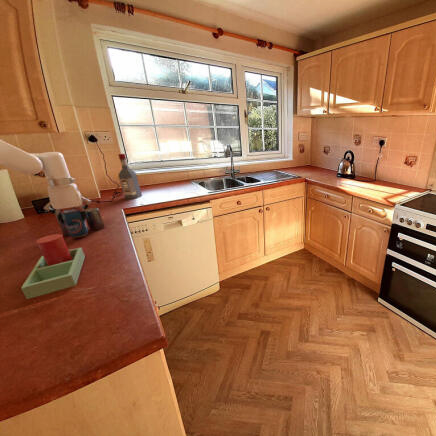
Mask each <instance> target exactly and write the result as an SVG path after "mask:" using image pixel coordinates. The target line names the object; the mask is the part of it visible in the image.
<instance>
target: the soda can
mask: <svg viewBox="0 0 436 436" xmlns="http://www.w3.org/2000/svg"><path fill="white" fill-rule="evenodd" d="M61 213H63V214H62V218H63V221H64V223H65V226H66V229H67V231H68V234H69V235H70V236H69V237H71V238H81V237H84V236H86V235H88V233H89V228H88V225H87V222H86V220H83V217H82V214H81V210H80V209H79V208H67V209H65V210H62V211H61Z"/></svg>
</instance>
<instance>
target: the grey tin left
mask: <svg viewBox="0 0 436 436" xmlns="http://www.w3.org/2000/svg"><path fill="white" fill-rule="evenodd" d="M61 213H62V212H61ZM62 214H63V213H62ZM55 218H56V220H57V222H58V225H59V226H60V229H61V232H62V235H63V237H71V236H70V235H69V234H68V231H67V229H66V226H65V223H63V224H62V223H61V222H59V220H58V217H57V215H55Z"/></svg>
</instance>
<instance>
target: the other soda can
mask: <svg viewBox="0 0 436 436" xmlns="http://www.w3.org/2000/svg"><path fill="white" fill-rule="evenodd" d="M35 242H36V244H37V246H38V248H39V251H40V252H41V254H42V256H43V257H44V259H45V261H46V263H47V265H48V266H51V265H55V264H59V263H63V262H67V261H72V260H73V259H72V257H71V254H70V252H69V250H70V249H69V247H68V245H67V243H66V240H65V239H64V235H63V234H62V233H55V234H50V235H45V236H43V237H40V238H38V239H37V240H36V241H35Z"/></svg>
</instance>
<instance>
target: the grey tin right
mask: <svg viewBox="0 0 436 436" xmlns="http://www.w3.org/2000/svg"><path fill="white" fill-rule="evenodd" d="M86 213H87V217H86V220H85V222H86V224H87V227H88V230H89V231H90V232H94V231H100V230H102V229H104V228H105V227H106V226H105V223H104V221H103V218H102V216H101V215H102V214H101V211H100V209H99V207H90V208H87V209H86Z"/></svg>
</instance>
